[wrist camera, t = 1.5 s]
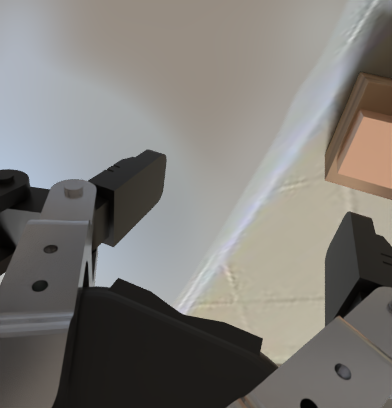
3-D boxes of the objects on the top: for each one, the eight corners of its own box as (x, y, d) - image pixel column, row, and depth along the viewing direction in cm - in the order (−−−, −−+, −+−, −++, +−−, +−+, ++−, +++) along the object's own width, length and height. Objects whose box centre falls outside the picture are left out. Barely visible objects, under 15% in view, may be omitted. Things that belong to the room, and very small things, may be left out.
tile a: (336, 160, 23) (337, 173, 21) (359, 108, 21) (363, 116, 19) (392, 176, 22) (399, 191, 20) (422, 123, 20) (433, 133, 18)
